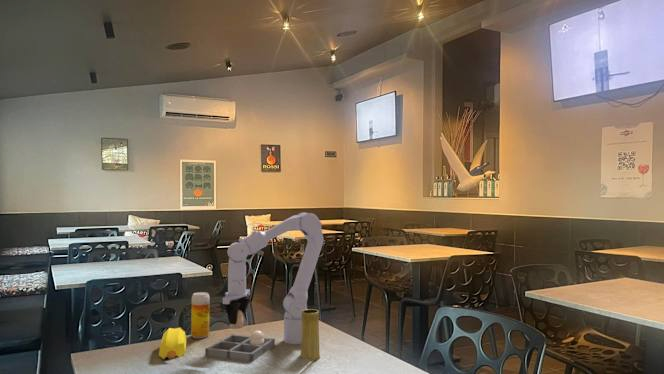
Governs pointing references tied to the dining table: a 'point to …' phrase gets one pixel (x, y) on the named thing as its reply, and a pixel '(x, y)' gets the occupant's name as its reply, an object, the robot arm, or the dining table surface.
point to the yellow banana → (173, 343)
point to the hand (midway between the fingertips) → (236, 321)
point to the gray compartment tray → (238, 348)
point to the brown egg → (238, 321)
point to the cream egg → (257, 338)
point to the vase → (310, 334)
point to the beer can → (200, 315)
